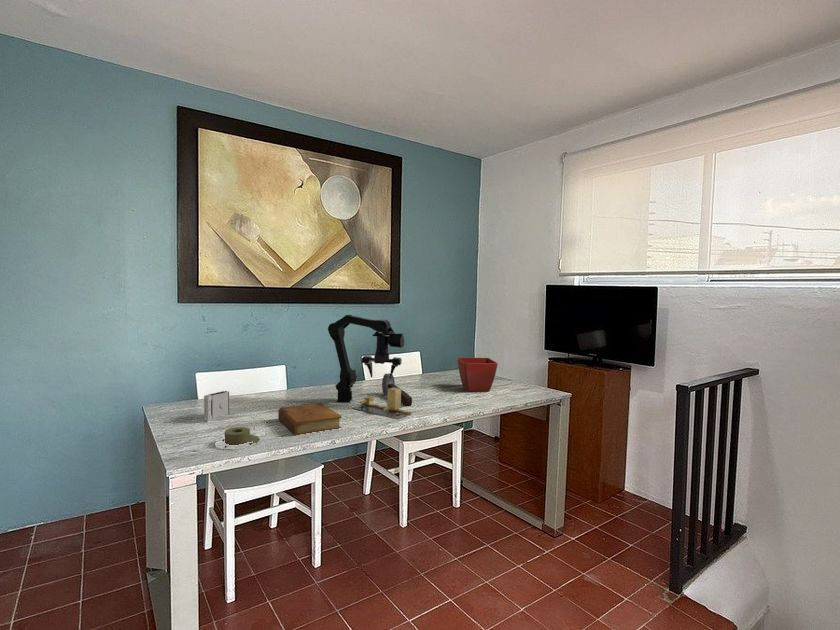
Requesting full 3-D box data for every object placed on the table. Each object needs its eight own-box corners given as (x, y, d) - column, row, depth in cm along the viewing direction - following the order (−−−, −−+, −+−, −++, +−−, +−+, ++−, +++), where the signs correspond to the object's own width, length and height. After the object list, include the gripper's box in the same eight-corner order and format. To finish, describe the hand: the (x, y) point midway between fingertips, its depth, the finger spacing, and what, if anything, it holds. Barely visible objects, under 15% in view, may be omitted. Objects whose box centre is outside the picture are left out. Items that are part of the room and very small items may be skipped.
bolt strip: (352, 408, 207) (352, 407, 207) (362, 405, 213) (362, 404, 213) (398, 419, 192) (398, 417, 192) (408, 415, 198) (408, 414, 198)
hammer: (412, 413, 215) (389, 392, 241) (414, 391, 213) (391, 372, 239) (403, 414, 213) (381, 392, 239) (405, 392, 211) (382, 372, 237)
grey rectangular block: (207, 423, 181) (207, 398, 181) (197, 421, 183) (196, 397, 182) (230, 413, 195) (230, 391, 194) (220, 412, 196) (220, 390, 195)
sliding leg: (380, 412, 199) (380, 391, 199) (393, 407, 207) (393, 387, 207) (388, 413, 197) (388, 392, 196) (400, 409, 205) (401, 388, 204)
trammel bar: (355, 407, 209) (355, 398, 209) (366, 404, 215) (366, 395, 215) (402, 418, 194) (402, 408, 194) (411, 414, 200) (412, 405, 200)
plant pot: (497, 393, 247) (498, 362, 246) (463, 393, 244) (464, 362, 243) (487, 385, 265) (488, 357, 264) (456, 385, 263) (456, 357, 262)
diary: (278, 421, 187) (278, 408, 187) (321, 415, 197) (321, 402, 197) (294, 437, 168) (294, 422, 167) (341, 429, 178) (341, 415, 178)
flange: (234, 422, 168) (204, 434, 154) (268, 427, 164) (240, 439, 150) (234, 434, 169) (204, 448, 154) (268, 439, 164) (240, 453, 150)
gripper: (359, 347, 207) (358, 380, 208) (399, 349, 205) (398, 382, 206) (364, 344, 218) (363, 375, 219) (402, 346, 216) (400, 377, 217)
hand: (381, 378), depth 215 cm, fingers open, 9 cm apart
